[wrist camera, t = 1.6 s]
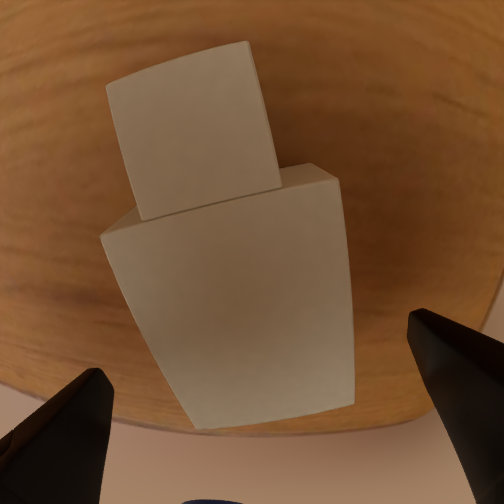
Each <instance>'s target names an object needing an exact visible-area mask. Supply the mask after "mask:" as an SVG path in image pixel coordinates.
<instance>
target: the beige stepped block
mask: <svg viewBox="0 0 504 504" xmlns="http://www.w3.org/2000/svg"><path fill="white" fill-rule="evenodd" d="M106 91H107V96H108V101H109V105H110V109H111V114H112V118H113V122H114V126H115V130H116V134H117V138H118V142H119V146H120V149H121V153H122V157H123V160H124V164H125V167H126V171H127V174H128V178H129V181H130V184H131V188H132V191H133V194H134V198H135V201H136V204H137V206H135V207H134V208H133V209H132V210H130V211H129V212H128V213H126V214H125V215H124V216H123V217H121V218H120V219H119V220H118V221H116V222H115V223H114V224H113V225H111V226H110V227H109V228H108V229H107V230H105V231H104V232H103V233H102V234H101V235H100V240H101V243H102V245H103V248H104V250H105V253H106V256H107V258H108V261H109V263H110V265H111V268H112V270H113V273H114V275H115V277H116V280H117V282H118V284H119V287H120V289H121V291H122V294H123V296H124V298H125V300H126V302H127V305H128V307H129V309H130V311H131V313H132V315H133V317H134V320H135V322H136V324H137V326H138V328H139V330H140V332H141V334H142V336H143V338H144V340H145V342H146V344H147V346H148V347H149V349H150V351H151V353H152V355H153V357H154V359H155V361H156V363H157V364H158V366H159V368H160V370H161V372H162V373H163V375H164V377H165V379H166V380H167V382H168V384H169V386H170V387H171V389H172V391H173V392H174V394H175V396H176V398H177V399H178V401H179V402H180V404H181V406H182V407H183V409H184V411H185V412H186V414H187V415H188V417H189V419H190V420H191V422H192V423H193V425H194V426H195V428H196V429H213V428H224V427H234V426H243V425H251V424H258V423H265V422H271V421H278V420H284V419H289V418H295V417H300V416H305V415H310V414H315V413H319V412H324V411H328V410H332V409H336V408H340V407H344V406H348V405H352V404H354V403H355V351H354V324H353V306H352V291H351V278H350V267H349V256H348V247H347V238H346V229H345V221H344V213H343V206H342V198H341V192H340V185H339V180H338V178H336V177H334V176H333V175H331V174H329V173H328V172H326V171H324V170H322V169H321V168H319V167H317V166H315V165H314V164H312V163H306V164H300V165H295V166H290V167H285V168H280V169H279V166H278V161H277V157H276V152H275V147H274V143H273V138H272V134H271V130H270V125H269V121H268V117H267V112H266V108H265V104H264V100H263V96H262V91H261V87H260V83H259V79H258V75H257V71H256V67H255V64H254V60H253V56H252V52H251V48H250V44H249V42H248V41H241V42H237V43H232V44H228V45H223V46H219V47H215V48H211V49H207V50H203V51H199V52H196V53H192V54H189V55H185V56H182V57H179V58H176V59H172V60H169V61H166V62H163V63H160V64H157V65H154V66H152V67H149V68H146V69H143V70H141V71H138V72H135V73H133V74H130V75H128V76H125V77H123V78H120V79H118V80H116V81H113V82H111V83H109V84H107V85H106Z"/></svg>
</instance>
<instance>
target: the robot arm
mask: <svg viewBox="0 0 504 504" xmlns="http://www.w3.org/2000/svg"><path fill="white" fill-rule="evenodd" d="M407 340H408V343H409V346H410V348H411V351H412V353H413V356H414V358H415V361H416V364H417V366H418V369H419V371H420V374H421V377H422V380H423V382H424V385H425V387H426V389H427V391H428V393H429V395H430V397H431V399H432V401H433V403H434V405H435V407H436V409H437V411H438V413H439V415H440V418H441V419H442V422H443V424H444V426H445V428H446V430H447V433H448V435H449V437H450V439H451V441H452V444H453V446H454V448H455V451H456V453H457V455H458V458H459V460H460V462H461V465H462V467H463V469H464V472H465V474H466V477H467V480H468V482H469V484H470V487H471V490H472V492H473V495H474V498H475V500H476V504H504V343H502V342H500V341H498V340H495V339H493V338H491V337H489V336H486V335H484V334H482V333H480V332H477V331H475V330H473V329H471V328H468V327H466V326H464V325H461V324H459V323H457V322H455V321H452V320H450V319H448V318H445V317H443V316H441V315H438V314H436V313H434V312H432V311H429V310H427V309H424V308H420V309H417V310H414V311H411V312H410V313H409V317H408V329H407ZM113 400H114V388H113V386H112V384H111V382H110V381H109V379H108V378H107V376H106V375H105V373H104V372H103V371H102V370H101V369H100V368H89V369H87V370H86V371H84V372H83V373H82V374H81V375H79V376H78V377H77V378H76V379H74V380H73V381H72V382H71V383H69V384H68V385H67V386H66V387H64V388H63V389H62V390H61V391H59V392H58V393H57V394H56V395H54V396H53V397H52V398H51V399H50V400H48V401H47V402H46V403H45V404H43V405H42V406H41V407H40V408H38V409H37V410H36V411H35V412H34V413H32V414H31V415H30V416H29V417H27V418H26V419H25V420H24V421H23V422H21V423H20V424H19V425H18V426H16V427H15V428H14V430H11V431H10V432H9V433H8V434H7V435H5V436H4V437H3V438H1V439H0V504H99V500H100V491H101V484H102V478H103V471H104V465H105V459H106V453H107V448H108V442H109V436H110V429H111V419H112V409H113Z"/></svg>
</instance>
